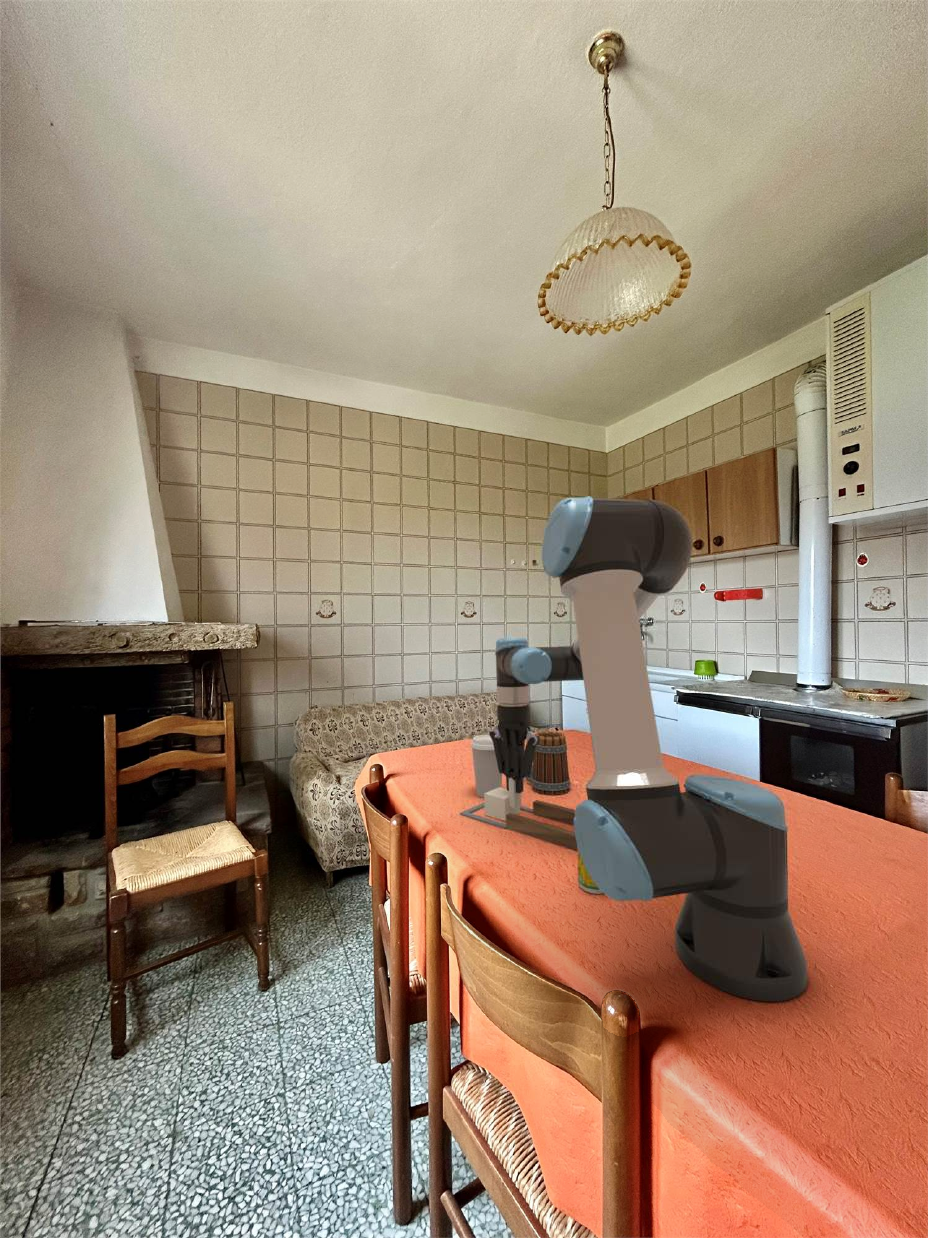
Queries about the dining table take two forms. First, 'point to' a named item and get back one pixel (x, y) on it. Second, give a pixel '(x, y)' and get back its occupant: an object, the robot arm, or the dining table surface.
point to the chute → (543, 829)
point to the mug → (550, 764)
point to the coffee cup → (485, 765)
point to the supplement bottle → (586, 878)
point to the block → (498, 804)
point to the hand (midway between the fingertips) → (515, 805)
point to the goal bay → (468, 814)
